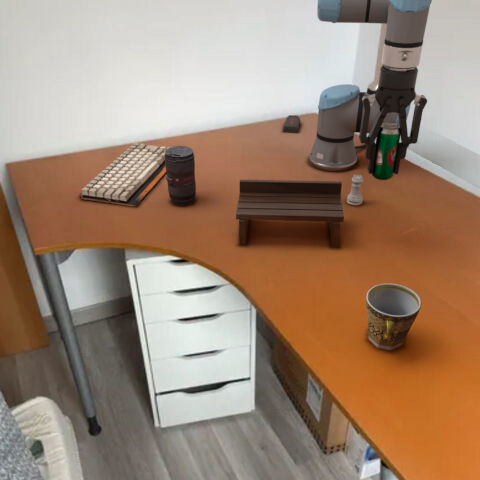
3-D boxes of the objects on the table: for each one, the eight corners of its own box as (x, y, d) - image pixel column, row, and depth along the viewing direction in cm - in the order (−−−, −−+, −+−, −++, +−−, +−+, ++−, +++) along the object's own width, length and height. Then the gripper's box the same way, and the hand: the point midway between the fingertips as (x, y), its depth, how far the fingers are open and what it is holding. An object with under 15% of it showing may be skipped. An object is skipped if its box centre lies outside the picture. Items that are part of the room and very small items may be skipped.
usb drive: (283, 131, 191) (283, 124, 190) (287, 120, 201) (287, 113, 199) (297, 132, 191) (297, 125, 189) (300, 121, 200) (301, 113, 198)
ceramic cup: (362, 318, 109) (369, 279, 103) (412, 326, 106) (422, 287, 100) (355, 361, 99) (361, 321, 93) (409, 372, 97) (420, 331, 91)
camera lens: (193, 208, 147) (189, 157, 138) (165, 206, 149) (159, 155, 139) (200, 195, 153) (197, 145, 144) (174, 192, 155) (169, 144, 146)
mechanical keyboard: (136, 207, 148) (134, 196, 146) (76, 200, 153) (74, 189, 151) (183, 155, 177) (182, 145, 175) (132, 150, 181) (130, 140, 179)
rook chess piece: (364, 200, 149) (367, 174, 144) (360, 207, 146) (363, 181, 141) (348, 197, 151) (352, 171, 146) (344, 204, 147) (347, 178, 143)
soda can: (368, 172, 125) (375, 122, 117) (388, 170, 125) (397, 121, 117) (374, 181, 121) (382, 130, 113) (396, 180, 121) (405, 129, 113)
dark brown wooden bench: (240, 217, 143) (240, 178, 136) (337, 219, 141) (341, 180, 134) (236, 245, 132) (235, 204, 125) (340, 248, 130) (345, 206, 123)
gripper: (357, 71, 105) (344, 178, 120) (449, 71, 104) (425, 179, 119) (353, 61, 111) (341, 164, 125) (440, 61, 110) (418, 164, 124)
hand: (382, 171), depth 122 cm, fingers closed on soda can, 5 cm apart
